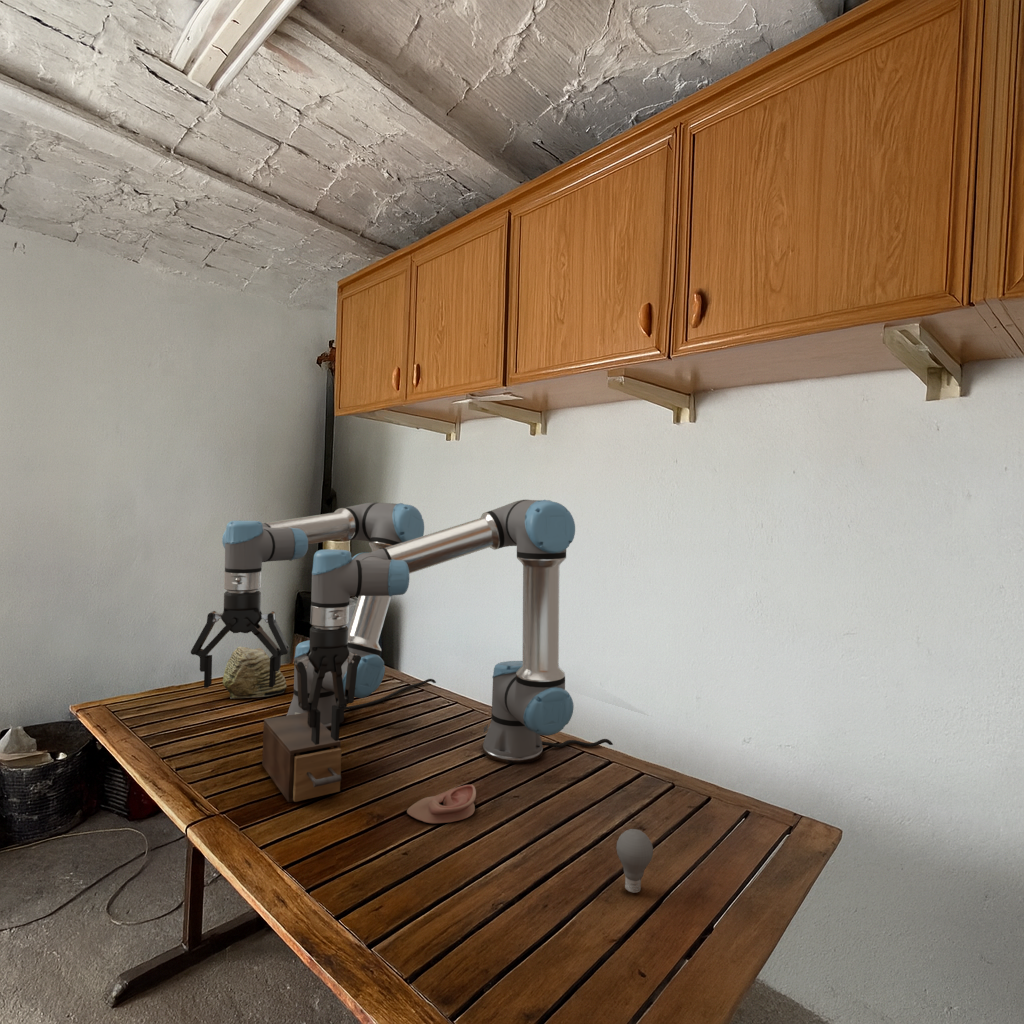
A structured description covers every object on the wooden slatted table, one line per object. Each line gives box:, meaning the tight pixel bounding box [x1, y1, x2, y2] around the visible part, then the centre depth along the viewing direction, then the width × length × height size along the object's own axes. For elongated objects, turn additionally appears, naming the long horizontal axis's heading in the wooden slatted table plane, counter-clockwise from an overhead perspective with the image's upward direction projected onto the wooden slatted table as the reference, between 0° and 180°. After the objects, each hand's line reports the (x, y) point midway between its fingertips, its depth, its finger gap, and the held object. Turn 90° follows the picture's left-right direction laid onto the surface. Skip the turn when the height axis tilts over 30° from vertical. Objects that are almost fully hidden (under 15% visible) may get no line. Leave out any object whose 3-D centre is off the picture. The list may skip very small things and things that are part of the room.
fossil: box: [222, 646, 288, 699], centre depth 198 cm, size 9×18×15 cm, turn 132°
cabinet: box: [261, 712, 342, 803], centre depth 142 cm, size 21×11×11 cm, turn 35°
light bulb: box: [615, 828, 654, 894], centre depth 106 cm, size 6×6×10 cm
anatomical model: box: [406, 784, 477, 824], centre depth 130 cm, size 13×4×12 cm
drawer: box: [293, 746, 342, 803], centre depth 138 cm, size 26×10×9 cm, turn 36°
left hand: (240, 685), depth 141 cm, fingers open, 13 cm apart
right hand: (325, 740), depth 129 cm, fingers open, 3 cm apart
